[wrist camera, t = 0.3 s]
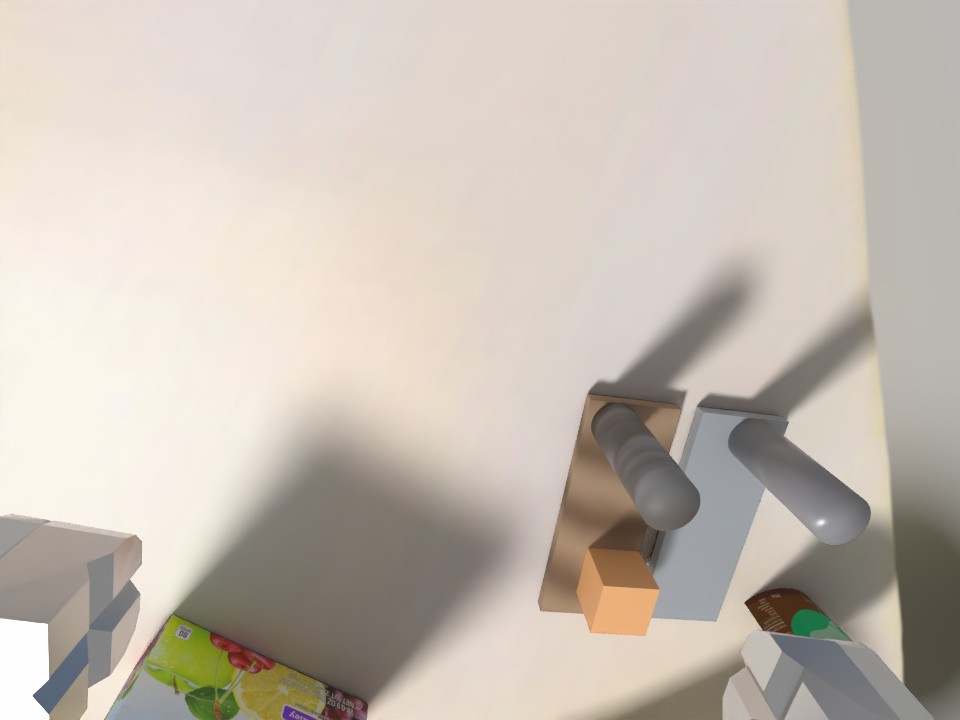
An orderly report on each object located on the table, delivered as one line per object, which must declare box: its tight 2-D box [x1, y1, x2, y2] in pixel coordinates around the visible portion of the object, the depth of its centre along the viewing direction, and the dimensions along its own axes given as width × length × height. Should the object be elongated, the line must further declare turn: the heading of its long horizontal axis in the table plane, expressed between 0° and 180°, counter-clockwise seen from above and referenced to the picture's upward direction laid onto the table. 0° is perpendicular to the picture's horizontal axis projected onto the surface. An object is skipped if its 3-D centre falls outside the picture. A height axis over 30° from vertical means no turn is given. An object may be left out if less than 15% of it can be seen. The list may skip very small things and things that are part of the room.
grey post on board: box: [538, 394, 701, 614], centre depth 47 cm, size 22×8×13 cm, turn 171°
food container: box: [745, 588, 852, 642], centre depth 56 cm, size 12×6×10 cm, turn 45°
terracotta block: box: [576, 548, 660, 636], centre depth 52 cm, size 5×5×5 cm
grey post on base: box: [648, 407, 871, 622], centre depth 49 cm, size 22×8×13 cm, turn 171°
